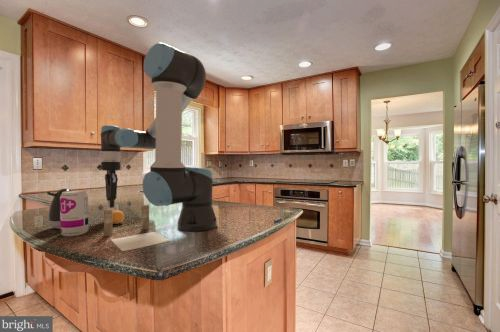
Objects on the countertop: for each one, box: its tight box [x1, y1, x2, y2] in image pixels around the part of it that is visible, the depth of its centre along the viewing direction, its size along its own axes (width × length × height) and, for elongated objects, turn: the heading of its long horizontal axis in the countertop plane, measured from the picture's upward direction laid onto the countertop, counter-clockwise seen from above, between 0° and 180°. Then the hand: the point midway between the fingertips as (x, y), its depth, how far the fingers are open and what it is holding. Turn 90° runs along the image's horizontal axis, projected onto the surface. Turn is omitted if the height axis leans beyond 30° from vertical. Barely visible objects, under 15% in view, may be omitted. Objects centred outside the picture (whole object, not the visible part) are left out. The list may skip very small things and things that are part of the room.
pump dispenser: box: [46, 188, 72, 230], centre depth 98 cm, size 10×10×15 cm
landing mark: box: [110, 231, 170, 252], centre depth 82 cm, size 14×14×1 cm
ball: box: [112, 209, 125, 225], centre depth 104 cm, size 6×6×6 cm
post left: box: [103, 208, 114, 237], centre depth 88 cm, size 3×3×9 cm
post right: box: [141, 204, 150, 231], centre depth 96 cm, size 3×3×9 cm
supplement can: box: [59, 190, 89, 237], centre depth 90 cm, size 8×8×15 cm
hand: (111, 214), depth 112 cm, fingers closed
